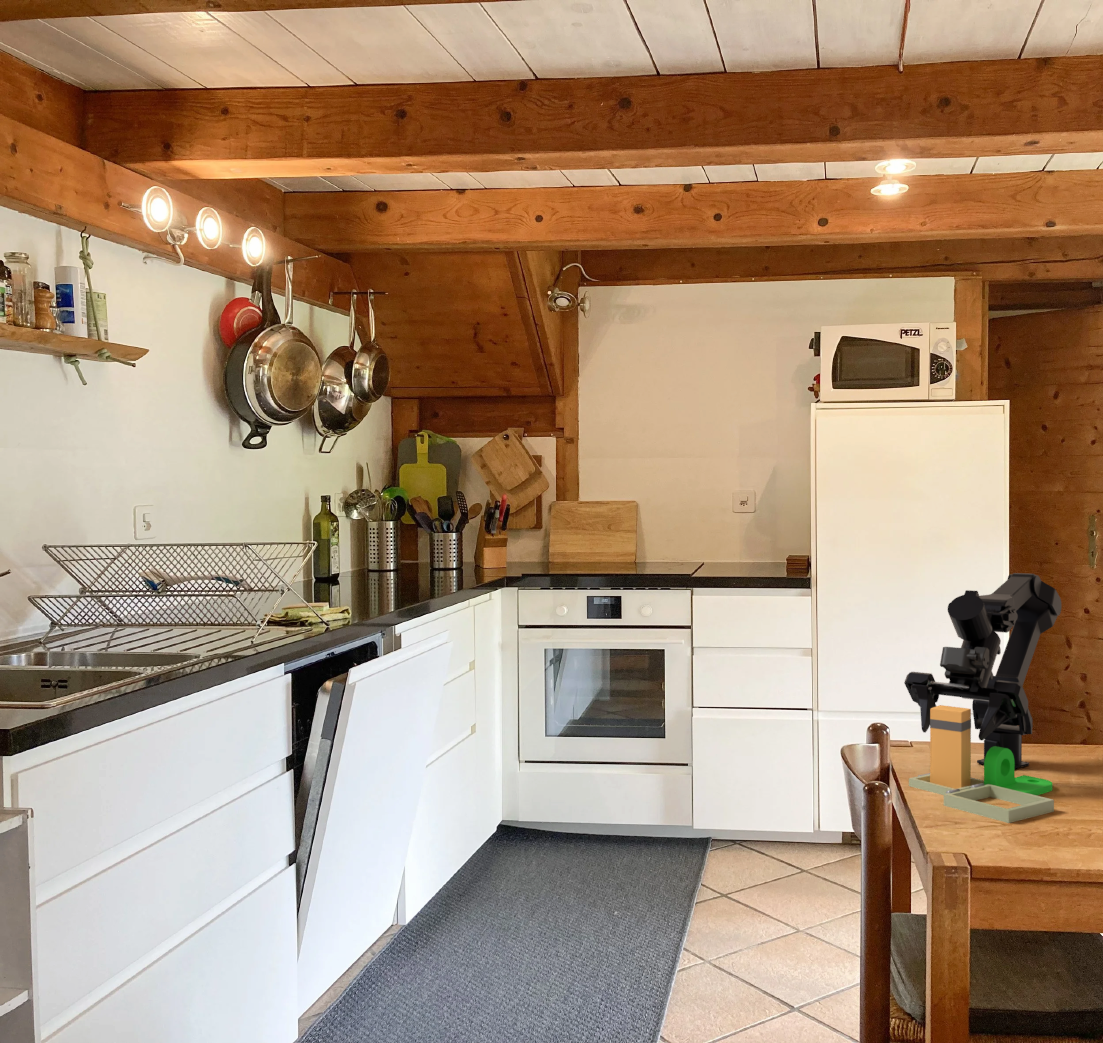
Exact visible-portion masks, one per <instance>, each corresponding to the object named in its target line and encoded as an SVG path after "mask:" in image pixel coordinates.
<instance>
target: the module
mask: <svg viewBox="0 0 1103 1043" xmlns="http://www.w3.org/2000/svg"><path fill="white" fill-rule="evenodd" d="M971 717H972V709H971V708H967V707H960V706H959V707H958V706H950V705H943V704H941V705H940V704H939V705H936V707H933V708H930V726H929V732H930V733H929V734H930V735H929V737H930V739H929V741H930V743H929V745H930V746H929V747H930V748H929V754H930V755H929V757H930V758H929V760H930V761H929V768H930V769H929V773H930V783H934V784H938V785H942V786H946V787H950V788H954V789H957V788H962V787H966V786H971V778H972V775H971V774H972V773H971V769H972V768H971V766H972V765H971V761H972V758H971V757H972V756H971V755H972V754H971V753H972V752H971V751H972V750H971V749H972V745H971V744H972V739H971V738H972V737H971V736H972V734H971V733H972V731H971V730H972V718H971Z"/></svg>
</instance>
